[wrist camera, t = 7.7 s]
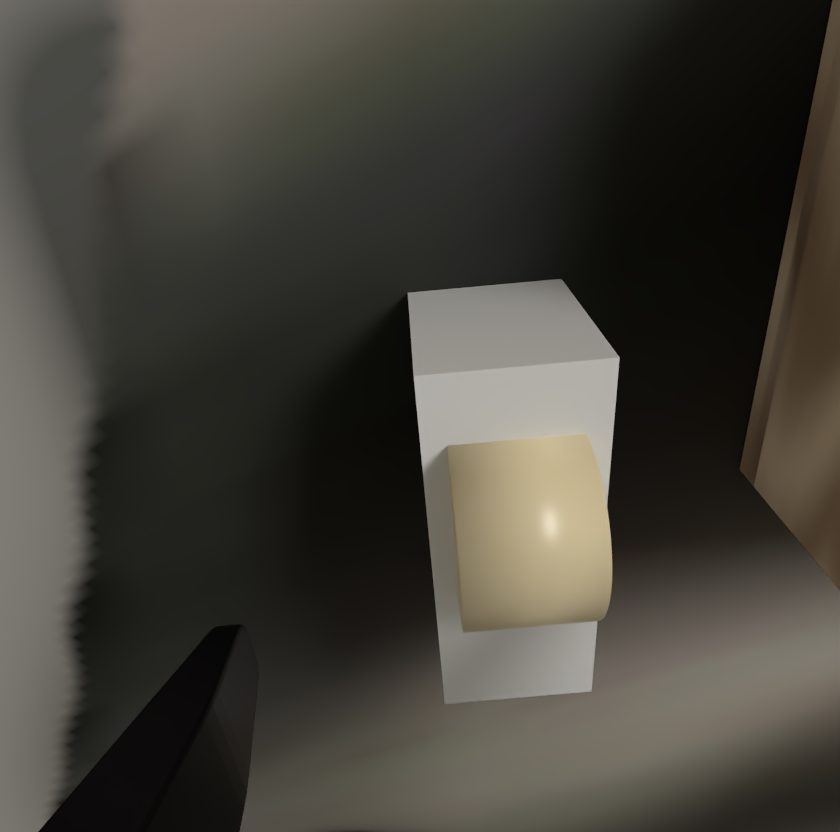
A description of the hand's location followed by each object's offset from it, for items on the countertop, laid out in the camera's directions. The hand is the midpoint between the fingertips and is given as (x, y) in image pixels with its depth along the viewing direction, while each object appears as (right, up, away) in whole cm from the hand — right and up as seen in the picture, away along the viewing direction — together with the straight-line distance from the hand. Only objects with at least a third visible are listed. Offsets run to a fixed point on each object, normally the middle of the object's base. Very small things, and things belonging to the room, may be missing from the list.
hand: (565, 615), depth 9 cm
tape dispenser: (0, +2, +8) cm, 9 cm away
